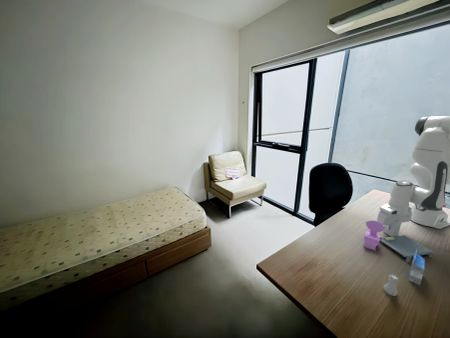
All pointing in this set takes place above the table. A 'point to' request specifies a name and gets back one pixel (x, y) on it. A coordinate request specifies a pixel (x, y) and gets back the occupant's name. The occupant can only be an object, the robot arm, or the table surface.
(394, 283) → the rook chess piece
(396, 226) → the skincare box
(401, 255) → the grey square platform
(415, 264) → the label tape box
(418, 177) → the robot arm
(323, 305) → the table surface
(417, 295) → the table surface
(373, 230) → the toy chair
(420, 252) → the levelling deck
